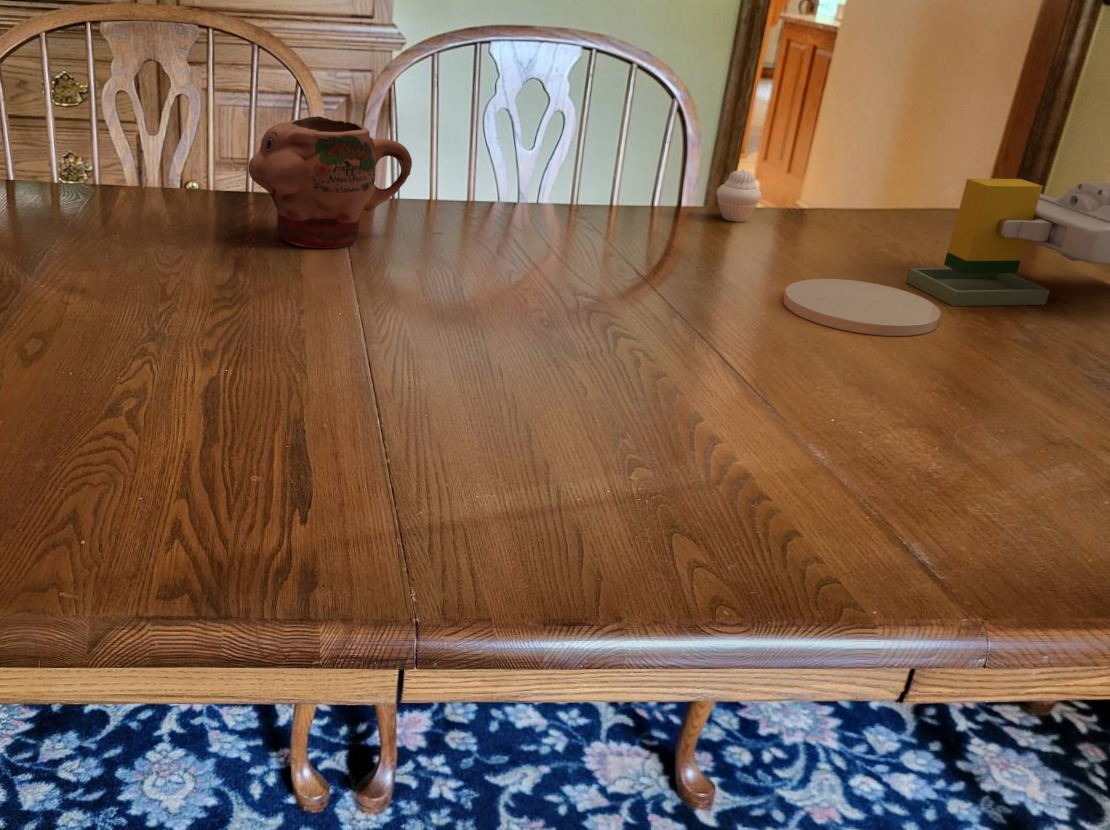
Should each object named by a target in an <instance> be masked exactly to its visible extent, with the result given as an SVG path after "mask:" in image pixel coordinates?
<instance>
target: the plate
mask: <svg viewBox="0 0 1110 830" xmlns="http://www.w3.org/2000/svg"><path fill="white" fill-rule="evenodd" d="M782 301H783V304H784V306H785V307H786V308H787V309H788V310H789V311H790V312H791V313H793V314H795V315H797V316H799V317H801V318H803V319H804V320H808V321H810V322H813V323H816V324H818V325H822V326H825V327H828V328H833V329H837V330H840V331H845V332H851V333H857V334H862V335H863V334H864V335H872V336H882V337H883V336H884V337H885V336H886V337H908V336H919V335H924V334H928V333H931V332H932V331H934V330H935V329H937V328H938V326H939V324H940V320H941V316H942V311H941V309H940V308H939V307H938V306H937V305H936V304H935V303H933V302H931V301H930V300H929V299H926V298H925V297H923V296H921V295H917V294H915V293H912V292H909V291H907V290H903V289H900V288H896V287H892V286H888V285H883V284H880V283H873V282H868V281H862V280H861V281H860V280H853V279H842V278H841V279H839V278H812V279H811V278H810V279H803V280H799V281H795V282H793V283H790V284H788V285H787V286H786V288H785V289H784V293H783V298H782Z"/></svg>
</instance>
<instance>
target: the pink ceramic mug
mask: <svg viewBox="0 0 1110 830" xmlns="http://www.w3.org/2000/svg"><path fill="white" fill-rule="evenodd" d="M260 143H261V144H260V147H259V149H258V152H257V153H256V154H254V155H253V156H252V157H251V159H250V160H249V162H248V174H249V176H250V178H251V179H252V181H253V182H254V183H256V184H257V185H258V186H260V187H261V188H263V189H264V190H265V191H266V192H267V193H268V194H269V195H270V197H271V199H272V201H273V203H274V206H275V208H276V213H277V220H276V232H277V235H278V237H279V238H280V239H282V240H284V241H285V242H286V243H289V244H291V245H292V244H293V245H295V246H300V247H303V248H312V249H314V248H315V249H331V248H332V249H334V248H335V249H336V248H344V247H345V248H346V247H350V246H352V244H354V243H355V242H356V241H357V238H358V235H359V229H360V224H361V223H360V222H361V213H362V210H364V211H366V212H371V211H373V210H374V209H376V208H377V207H379V206H380V205H382V204H383V203H385V202H387V201H388V200H389V199H391V198H392V197H393V196H394V195H395V194H396V193H398V192H399V191H400V189H401V188H402V186H403V185H404V184H405V183H406V181H407V179H408V177H409V176H410V175H411V171H412V167H413V160H412V157H411V153H410V152H409V150H408V149H407V148H406V146H404V145H403V144H402V143H400V142H399V141H396V140H393V139H389V138H372V137H371V134H370V131H369V128H366V127H365V126H363V125H362V124H359V123H353V122H349V121H346V120H337V119H330V118H327V117H322V116H319V115H318V116H317V115H316V116H309V117H304V118H298V119H293V120H289V121H286V122H280V123H277V124H274V125H273V126H270V127H269V128H268V129H267V130H266V132H265V133H264V134H263V136H262V138H261V142H260ZM384 157H392V158H394V159H395V160H396V161H397V162H398V164H399V166H400V167H399V168H400V173H399V176H398V177H397V178H396V179H395V181H394V182H393V183H392V184H391V185H390V186H388V187H386V188H379V187H378V186H377V185H376V184H375V183H376V178H377V176H376V175H377V173H376V170H377V169H376V167H377V164H378V162H379V161H380V160H381V159H382V158H384Z"/></svg>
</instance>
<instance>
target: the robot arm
mask: <svg viewBox="0 0 1110 830" xmlns="http://www.w3.org/2000/svg"><path fill="white" fill-rule="evenodd" d="M996 233H997V234H999V235H1001V236H1004V237H1017V238H1022V239H1027V241H1029V242H1032V243H1035V244H1037V245H1039V246H1042V247H1044V248H1047V249H1049V250H1052V251H1055V252H1057V253H1059V254H1060V255H1061V256H1063V257H1064V258H1065V259H1067V260H1070V261H1075V262H1083V263H1089V264H1095V265H1097V264H1098V265H1109V266H1110V182H1083V183H1079V184H1076V185H1074V186H1072V187H1070V188H1069V189H1068V190H1067V191H1066V192H1065V193H1064V194H1063V195H1062V196H1061V197H1060V198H1059V199H1058V198H1055V197H1052V196H1049V195H1046V194H1043V193H1041V194H1040V198H1039V201H1038V204H1037V208H1036V211H1035V214H1034V218H1033V221H1029V220H1016V219H1013V218H1007V219H1005V218H1004V219H1000V220H999V222H998V227H997V229H996Z"/></svg>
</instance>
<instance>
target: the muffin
mask: <svg viewBox="0 0 1110 830" xmlns="http://www.w3.org/2000/svg"><path fill="white" fill-rule="evenodd" d="M716 197H717V204H718V207H719V210H720V213H721V215H722V219H724V220H726V221H729V222H735V223H736V222H737V223H741V222H746V221H747V220H748V219H749V217H750V216H751V215H752V214H753V212H754V211H755V210H756V208H757V207H758V206H759V204H758V203H760V201H761V199H762V192H761V190H760V189H759V188H758V185H757V183H756V176H755V175H754V173H752V172H750V171H747V170H745V169H744V168H743V169H742V170H741V169H740V170H739V169H738V170H734V171H732V172H731V173H730V174H729V176H728V179H727V180H725V182H724V184H721V185H719V187H717V190H716Z"/></svg>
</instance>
